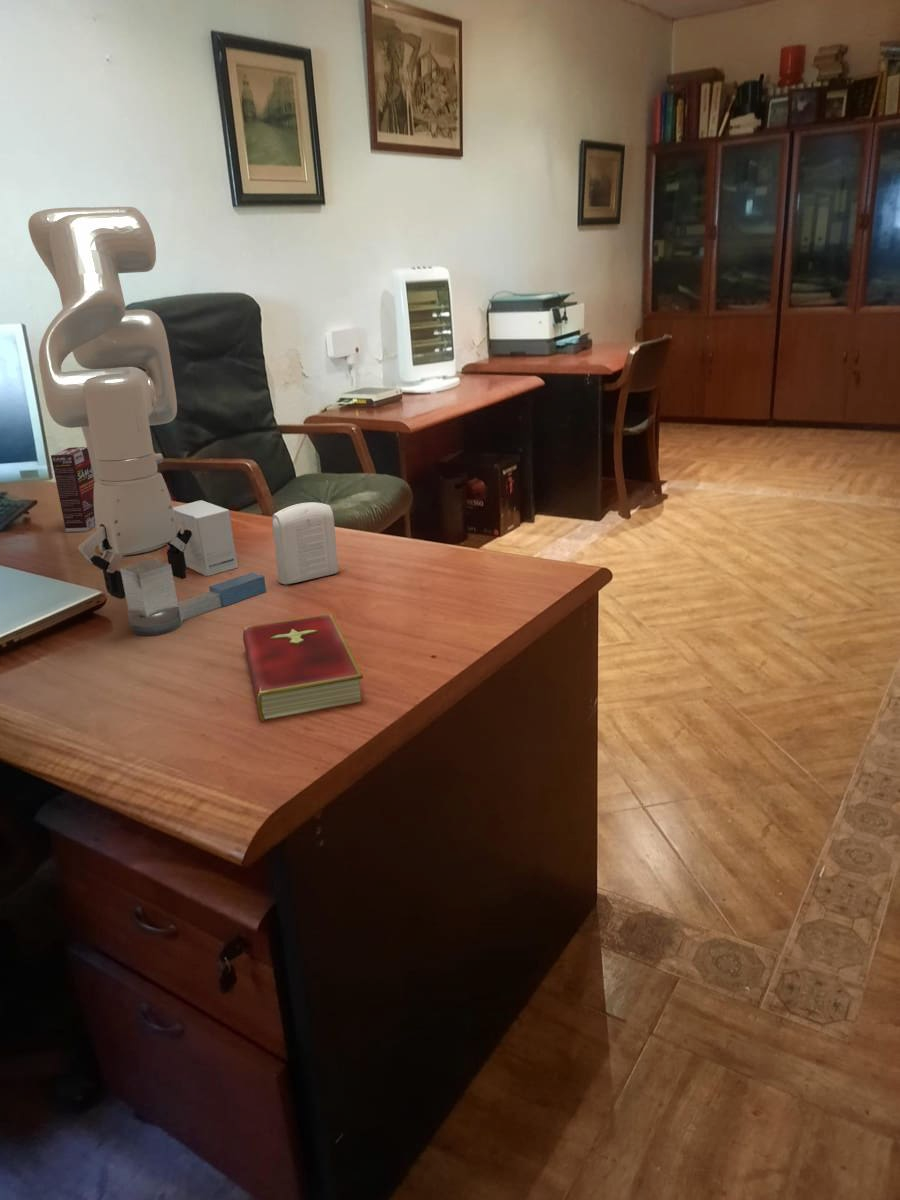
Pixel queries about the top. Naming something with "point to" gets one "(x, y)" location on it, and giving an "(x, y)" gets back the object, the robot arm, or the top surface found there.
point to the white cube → (149, 587)
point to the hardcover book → (300, 666)
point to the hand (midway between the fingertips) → (149, 586)
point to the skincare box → (209, 538)
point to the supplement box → (75, 488)
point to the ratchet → (198, 605)
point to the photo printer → (304, 542)
